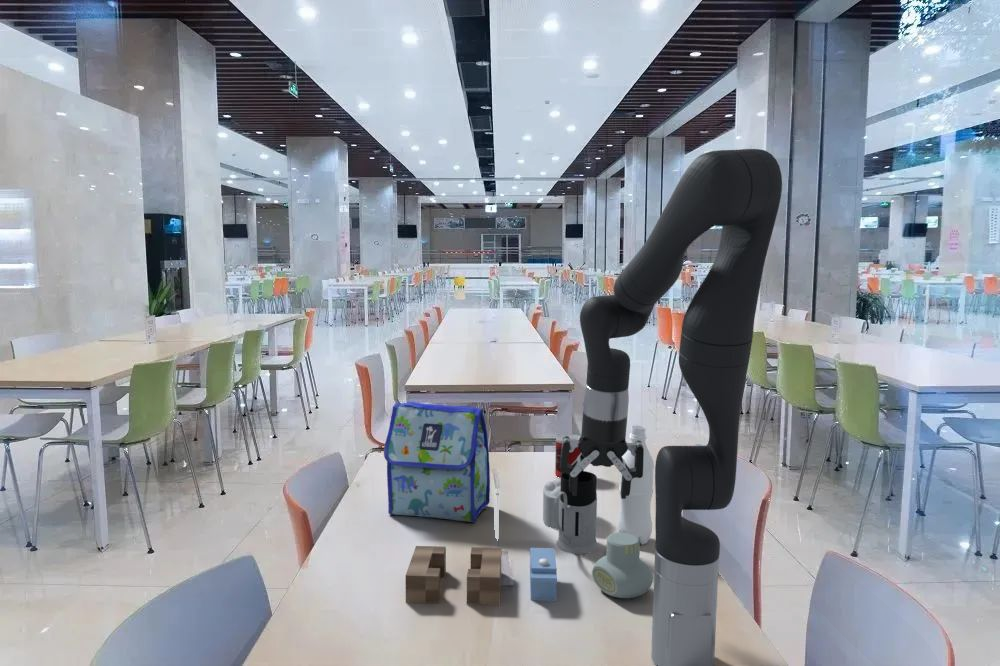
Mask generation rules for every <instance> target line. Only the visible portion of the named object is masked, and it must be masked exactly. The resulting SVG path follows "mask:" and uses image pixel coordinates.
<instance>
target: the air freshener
mask: <svg viewBox="0 0 1000 666" xmlns="http://www.w3.org/2000/svg"><path fill="white" fill-rule="evenodd" d="M606 540H607V541H606V554H605V555H604V556H602V557H600V558H599V559H598V560H597V561H596V562H595V563H594V565H593V566H592V571H591V575H592V579H593V581H594V583H595V584H596V586H597V587H598V588H599V589H600V591H602V592H603V593H605V594H606V595H608V596H610V597H612V598H613V597H614V598H616V599H617V598H618V599H634V598H637V597H639V596H642V595H644V594H645V593H647V592H648V591H649V590H650V588H652V585H653V583H654V573H653V572H652V569H651V568H650V567H649V565H648V564H647V563H646V562H645V561H644V560H643V559H641V558H640V555H641V553H640V551H641V549H640V547H641V543H640V540H639V539H638V538H637V537H636V536H634V535H632V534H628V533H619V532H615V533H612V534H609V536H607V538H606Z"/></svg>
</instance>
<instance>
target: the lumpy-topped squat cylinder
mask: <svg viewBox="0 0 1000 666" xmlns="http://www.w3.org/2000/svg"><path fill="white" fill-rule="evenodd" d="M560 490H561V478H557V477H556V479H554V480H552V481H547V482H546V483H545V484H544V485H543V492H542V493H543V494H542V495H543V497H542V502H543V503H542V521H543V523H544V526H545V527H547V528H550V527H551V529H554V528H557V527H556V523H555V519H554V501H555V498H556V496H557V494H558V493H559V492H560ZM559 499H560V497H559ZM557 515H558V521H559V500H558V505H557Z"/></svg>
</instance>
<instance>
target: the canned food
mask: <svg viewBox="0 0 1000 666" xmlns="http://www.w3.org/2000/svg"><path fill="white" fill-rule="evenodd" d="M565 436H568V437H569V438H570V439H573V440H579V439H580V437H581V435H580V434H579V435H578V434H561V435H558V436H556V439H555V469H554V473H555V477H556V476H557V477H559V478H561V474H562V473H561V472H560V458H561V450H562V442H563V437H565ZM580 454H581V451H580V450H579V448H578V447H576V448H575V449H574V451H573V452H569V458H568V464H571V465H572V464H573V463H574V461H575V460H576V459H577V457H578V456H579V455H580ZM582 471H585V469H584V470H582ZM557 477H556V478H557Z"/></svg>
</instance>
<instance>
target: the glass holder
mask: <svg viewBox="0 0 1000 666" xmlns="http://www.w3.org/2000/svg"><path fill="white" fill-rule="evenodd" d="M597 477H598V476H597V475H596V474H594V473H593V472H590V471H585V470H584V471H581V472H580V473H579V474H578V483H577V496H575V495H573V492H570V491H569V475H568V474H567V473H562V474H561V490H560V492H559V493H558V494H557V496H556V498H555V501H554V519H555V523H556V527H557V529H556V530H557V531H558V539H557V540H556V546H557V548H559V549H560V550H561V551H563V552H566V553H569V554H575V555H576V554H577V555H582V554H590V553H593V552H595V551H596V550H597V549H598V548H599V543H598V542H597V515H598V513H597V512H598V511H597V510H598V507H597V506H598V495H597V481H598V480H597ZM559 497H560V499H559ZM558 500H559V521H558V515H557V505H558Z"/></svg>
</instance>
